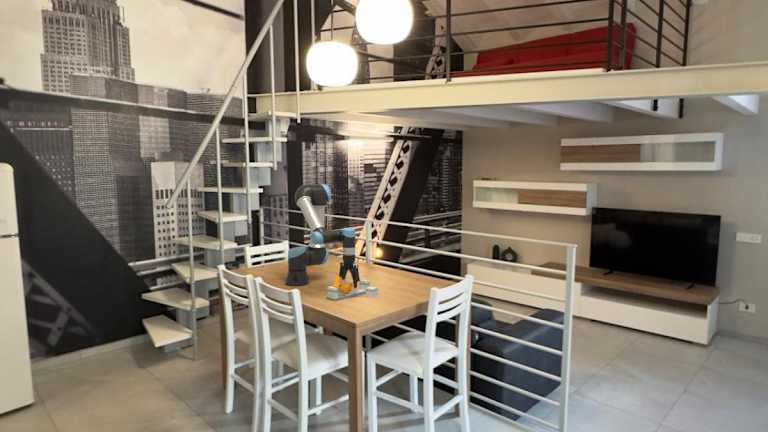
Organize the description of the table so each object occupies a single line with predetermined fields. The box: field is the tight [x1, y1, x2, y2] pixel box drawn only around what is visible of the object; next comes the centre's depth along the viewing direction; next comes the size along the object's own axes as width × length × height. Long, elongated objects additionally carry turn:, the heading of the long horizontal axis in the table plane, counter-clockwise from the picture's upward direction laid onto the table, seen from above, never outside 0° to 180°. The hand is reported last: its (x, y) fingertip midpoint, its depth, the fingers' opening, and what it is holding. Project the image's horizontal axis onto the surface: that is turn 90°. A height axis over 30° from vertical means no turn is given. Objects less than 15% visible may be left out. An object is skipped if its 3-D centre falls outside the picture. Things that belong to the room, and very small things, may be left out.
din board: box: [326, 288, 366, 302], centre depth 293 cm, size 8×28×1 cm, turn 136°
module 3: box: [365, 286, 379, 299], centre depth 292 cm, size 5×5×5 cm
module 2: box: [358, 279, 371, 291], centre depth 302 cm, size 6×3×6 cm, turn 46°
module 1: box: [326, 285, 339, 299], centre depth 284 cm, size 6×3×6 cm, turn 45°
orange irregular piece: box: [332, 275, 353, 294], centre depth 289 cm, size 12×4×6 cm, turn 136°
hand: (349, 291), depth 293 cm, fingers open, 9 cm apart
